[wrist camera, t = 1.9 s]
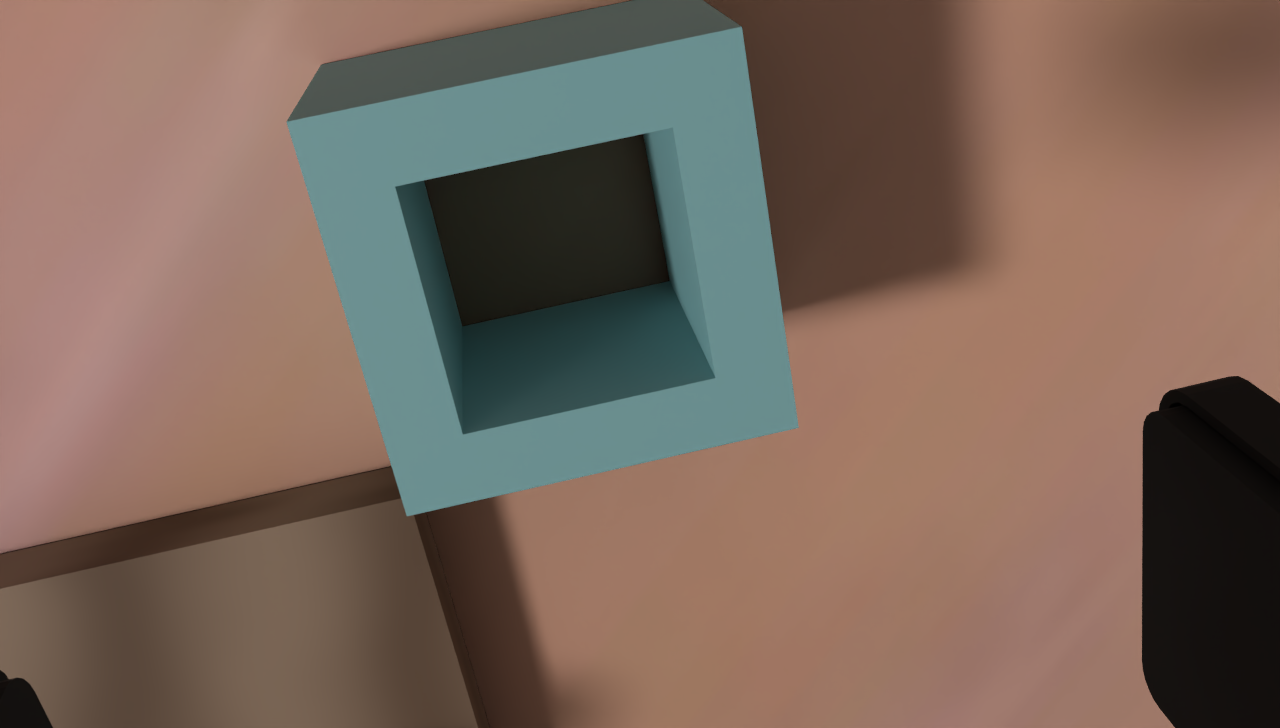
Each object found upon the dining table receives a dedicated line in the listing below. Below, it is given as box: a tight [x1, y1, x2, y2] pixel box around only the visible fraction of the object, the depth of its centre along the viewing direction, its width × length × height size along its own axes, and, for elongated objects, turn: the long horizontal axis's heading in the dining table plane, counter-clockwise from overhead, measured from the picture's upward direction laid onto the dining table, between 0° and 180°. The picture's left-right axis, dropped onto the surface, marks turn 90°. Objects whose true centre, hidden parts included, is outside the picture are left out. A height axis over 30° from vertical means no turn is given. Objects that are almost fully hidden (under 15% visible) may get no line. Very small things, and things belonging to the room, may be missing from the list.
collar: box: [287, 0, 799, 516], centre depth 22 cm, size 7×7×5 cm
